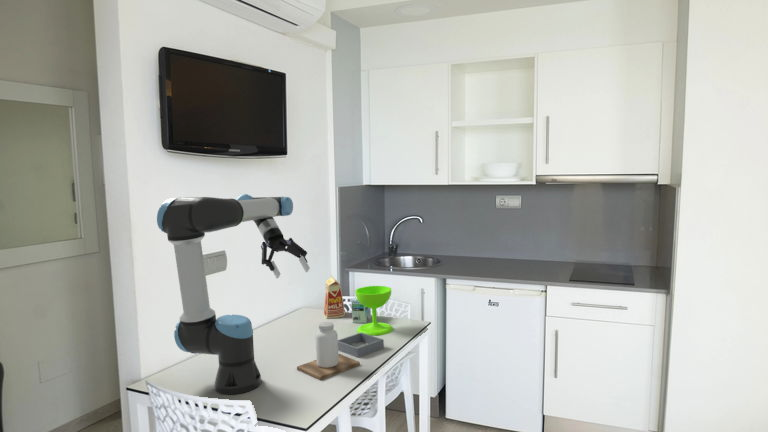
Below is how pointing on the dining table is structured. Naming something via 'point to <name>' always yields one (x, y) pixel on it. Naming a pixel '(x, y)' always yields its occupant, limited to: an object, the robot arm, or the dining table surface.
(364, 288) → the wineglass
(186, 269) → the robot arm
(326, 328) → the pill bottle
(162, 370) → the dining table surface
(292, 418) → the dining table surface
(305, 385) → the dining table surface
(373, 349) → the bin
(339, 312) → the milk carton
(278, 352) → the dining table surface
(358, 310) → the light bulb box
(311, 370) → the board
